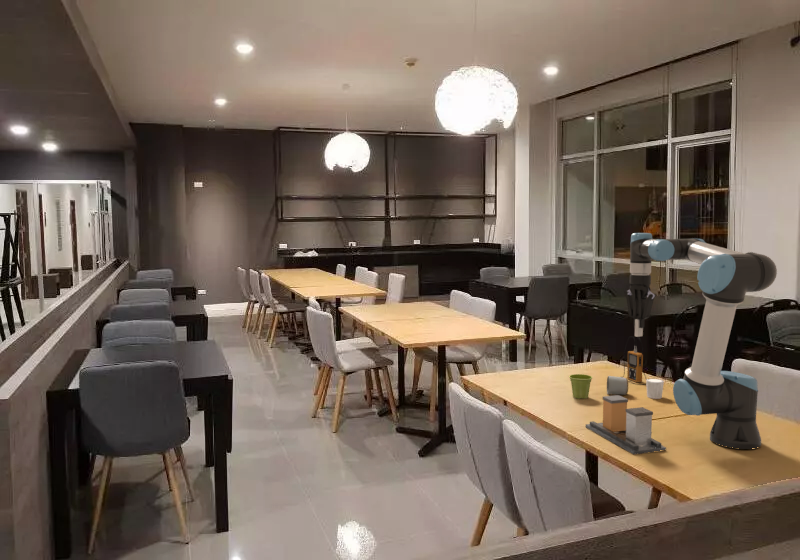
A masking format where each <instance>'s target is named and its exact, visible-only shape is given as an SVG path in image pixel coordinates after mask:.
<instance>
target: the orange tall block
mask: <svg viewBox="0 0 800 560" xmlns="http://www.w3.org/2000/svg"><path fill="white" fill-rule="evenodd" d="M602 400H603V404H602V405H603V406H602V408H603V409H602V423H603V427H605V428H607V429H609V430H611V431H612V432H616V431H626V409H628V402H629V399H628V398H626V397H623V395H607V396H606V395H605V396H604V395H603V396H602Z"/></svg>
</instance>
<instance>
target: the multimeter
mask: <svg viewBox="0 0 800 560" xmlns="http://www.w3.org/2000/svg"><path fill="white" fill-rule="evenodd" d="M630 338H633V340H634V342H635V345H634V346H633V347H634V349H633V350H629V351H627V368H626V367H625V362H623V376H622V377H623V378H625V374H626V375H627V377H626V378H627V379H628V383H632V384H633V385H636V383H637V386H638V385H639V386H646V383H642V384H641V382H643V374H644V377H645V379H647V376H646V373H645V372H644V368H643V366H644V365H643V362H644V346H643V343H642V340H641V338H640V337H637V339H635V336H629V337H628V338H627V341H626V344H625V347H624V352H623V356H625V353H626V348H627V344H628V342H629V339H630ZM638 340H639V342H640V344H641V349H642V351H641V352H638V348H637V347H638V346H637V345H638V344H637V342H638ZM625 368H626V369H627V373H625V370H626V369H625ZM634 382H635V383H634Z"/></svg>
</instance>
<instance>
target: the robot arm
mask: <svg viewBox="0 0 800 560" xmlns="http://www.w3.org/2000/svg"><path fill="white" fill-rule="evenodd" d="M629 245H630V249H629V250H630V252H629V253H630V255H629V259H630V260H629V273H630V275H629V284H630V286H629V289H628V290H625V291H624V293H623V294H624V295H625V298H626V305H627V311H628V315H629V317H631V318H632V319H633V328H634V337H637V338H640V337H643V335H644V332H643V331H644V328H645V321H646V319H649V318H650V315H651V312H652V308H653V305H654V300H655V298H657V295H656V293H653V292H652V290H651V287H650V286H651V284H652V276H651V273H652V261H657V262H662V261H663V262H665V261H674V260H675V261H677V260H686V261H690V262H692V263H696V264H699V265H700V266H699V268H698V271H697V275H696V276H697V281H698V286H699V289H700V290H701V291H702V296H703V298H705V300H706V301H705V305H704V308H703V314H702V317H701V322H700V326H699V331H698V335H697V336H698V337H697V340H696V345H695V349H694V354H693V358H692V363H691V366H690V367H688V368H686V369H685V370H684V374H683V375H684V376H683V378H679V379H677V380H675V382H674V384H673V387H672V393H673V394H672V395H673V398H674V401H675V404H676V406H677V407H678V409H679V410H680V411H681V412H682V413H684V414H685V415H688V416H702V415H715V414H716V418H715V419H714V422H713V424H712V427H711V429H710V433H709V440H710V441H711V442H712V441H713V442H715V443H717V444H720V445H723V446H727V447H731V448H730V449H732V447H733V448H739V449H752V448H757V447H760V446H761V447H762V437H761V434H760V431H759V427H758V424H757V410H758V409H757V407H758V393H759V390H758V380H757V378H755V377H754V376H751V375H749V374H746V373H741V372H735V371H730V370H729V371H728V370H722V369H723V365H724V364H723V363H724V360H725V355H726V352H727V347H728V344H729V339H730V335H731V330H732V327H733V322H734V319H735V315H736V311H737V306H739V305H741V304H743V303H744V301H745V297H746V294H747V293H755V292H756V293H757V292H761V291H764V290H766V289H768V288H769V287H770V286H771V285H773V283H774V282H775V280H776V278H777V274H778V273H777V272H778V271H777V270H778V269H777V265H776V263H775V261H774V260H773V259H771V258H770V257H769V256H767V255H765V254H761V253H757V252H752V251H751V252H750V251H748V252H745V253H744V252H740V251H736V250H733V249H730V248H729V249H728V248H725V247H722V246H718V245H715V244H711V243H707V242H706V241H705V240H704V239H702V238H696V237H694V238H693V237H692V238H664V239H662V238H653V234H652V233H650V232H634V233H632V234H631V236H630V244H629ZM713 442H712V443H713ZM715 443H714V444H715ZM717 444H716V445H717ZM720 445H719V446H720ZM723 446H722V447H723ZM727 447H726V448H727ZM761 447H760V448H761ZM739 449H738V450H739Z"/></svg>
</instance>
